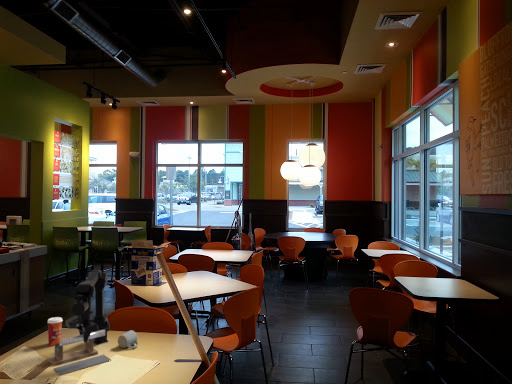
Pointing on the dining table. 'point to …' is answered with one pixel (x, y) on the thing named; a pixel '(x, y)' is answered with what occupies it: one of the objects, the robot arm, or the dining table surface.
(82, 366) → the grey flat tapered piece
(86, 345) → the hook stand
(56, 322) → the paper cup
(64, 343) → the steel rod
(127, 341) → the ceramic mug
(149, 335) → the dining table surface
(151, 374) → the dining table surface
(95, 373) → the dining table surface
